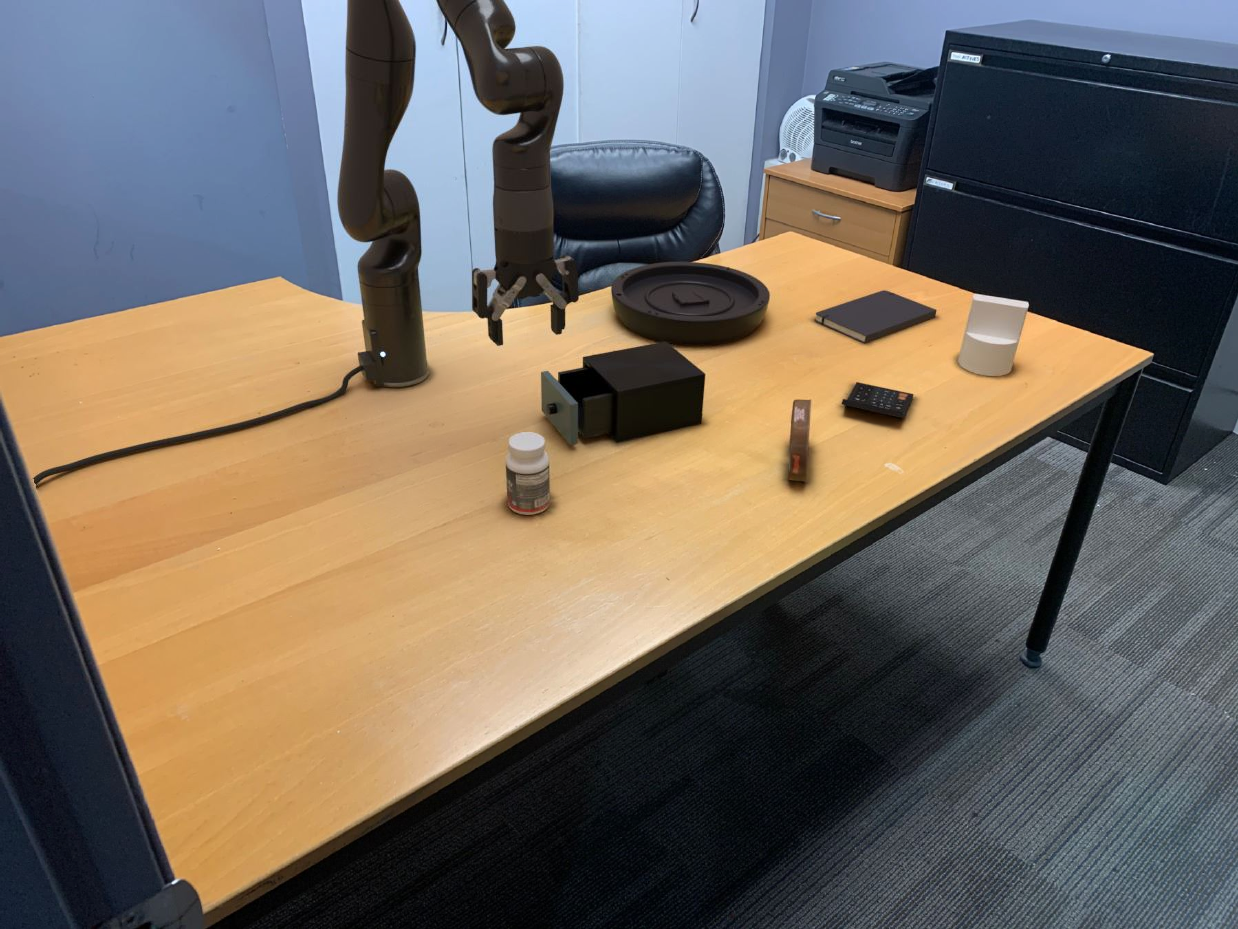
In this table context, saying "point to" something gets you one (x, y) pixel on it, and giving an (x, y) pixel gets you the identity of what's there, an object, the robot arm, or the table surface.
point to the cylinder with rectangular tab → (992, 335)
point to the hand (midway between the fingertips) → (527, 337)
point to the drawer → (578, 403)
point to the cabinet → (650, 389)
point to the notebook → (874, 315)
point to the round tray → (689, 302)
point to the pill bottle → (527, 474)
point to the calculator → (879, 400)
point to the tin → (799, 440)
